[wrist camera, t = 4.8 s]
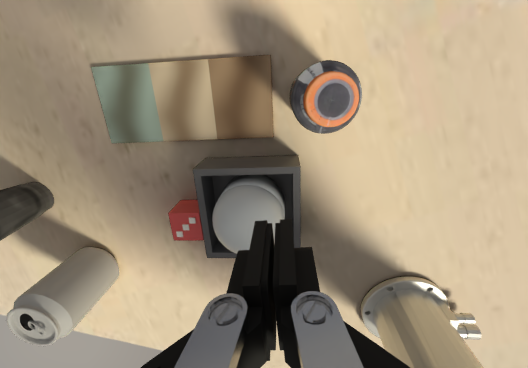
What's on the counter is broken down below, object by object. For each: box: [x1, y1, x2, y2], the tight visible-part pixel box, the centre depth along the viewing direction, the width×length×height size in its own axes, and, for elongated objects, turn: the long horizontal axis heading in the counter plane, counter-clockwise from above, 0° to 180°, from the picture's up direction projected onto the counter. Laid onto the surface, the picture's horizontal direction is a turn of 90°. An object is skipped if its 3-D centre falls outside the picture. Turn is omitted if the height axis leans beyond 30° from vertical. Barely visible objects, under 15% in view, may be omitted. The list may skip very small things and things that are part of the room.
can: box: [7, 247, 119, 346], centre depth 35 cm, size 8×8×12 cm
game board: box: [91, 55, 274, 143], centre depth 30 cm, size 21×9×1 cm, turn 93°
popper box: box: [168, 155, 300, 258], centre depth 32 cm, size 16×12×5 cm
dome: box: [212, 175, 285, 254], centre depth 29 cm, size 8×8×8 cm
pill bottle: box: [290, 60, 362, 133], centre depth 24 cm, size 6×6×11 cm
